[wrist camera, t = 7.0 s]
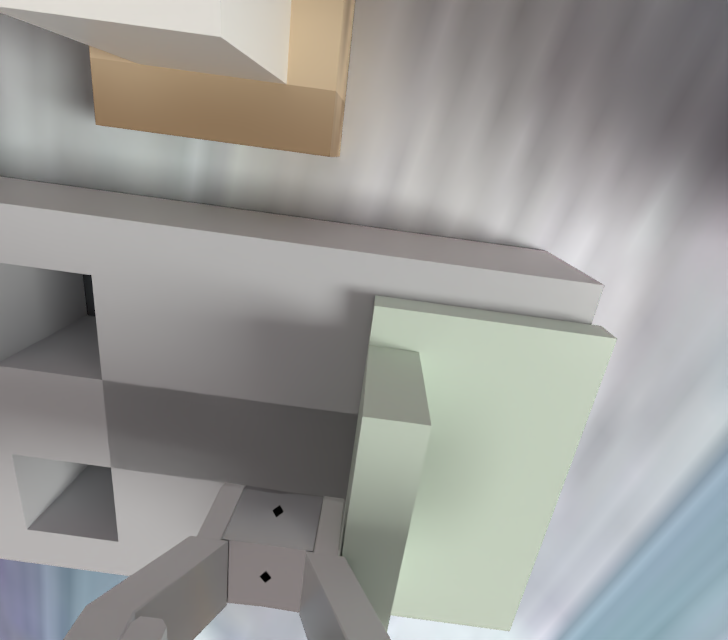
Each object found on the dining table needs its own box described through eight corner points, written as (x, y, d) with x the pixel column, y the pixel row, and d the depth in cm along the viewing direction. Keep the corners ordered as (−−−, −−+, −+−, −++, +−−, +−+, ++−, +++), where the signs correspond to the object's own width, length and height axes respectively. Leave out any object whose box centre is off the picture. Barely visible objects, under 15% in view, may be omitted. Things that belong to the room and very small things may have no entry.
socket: (-96, 163, 14) (-269, 166, 10) (546, 251, 14) (604, 285, 10) (-24, 462, 18) (-129, 541, 15) (468, 529, 18) (489, 624, 15)
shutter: (375, 295, 11) (370, 365, 7) (600, 325, 11) (707, 411, 7) (333, 583, 14) (316, 725, 11) (502, 606, 14) (541, 756, 11)
